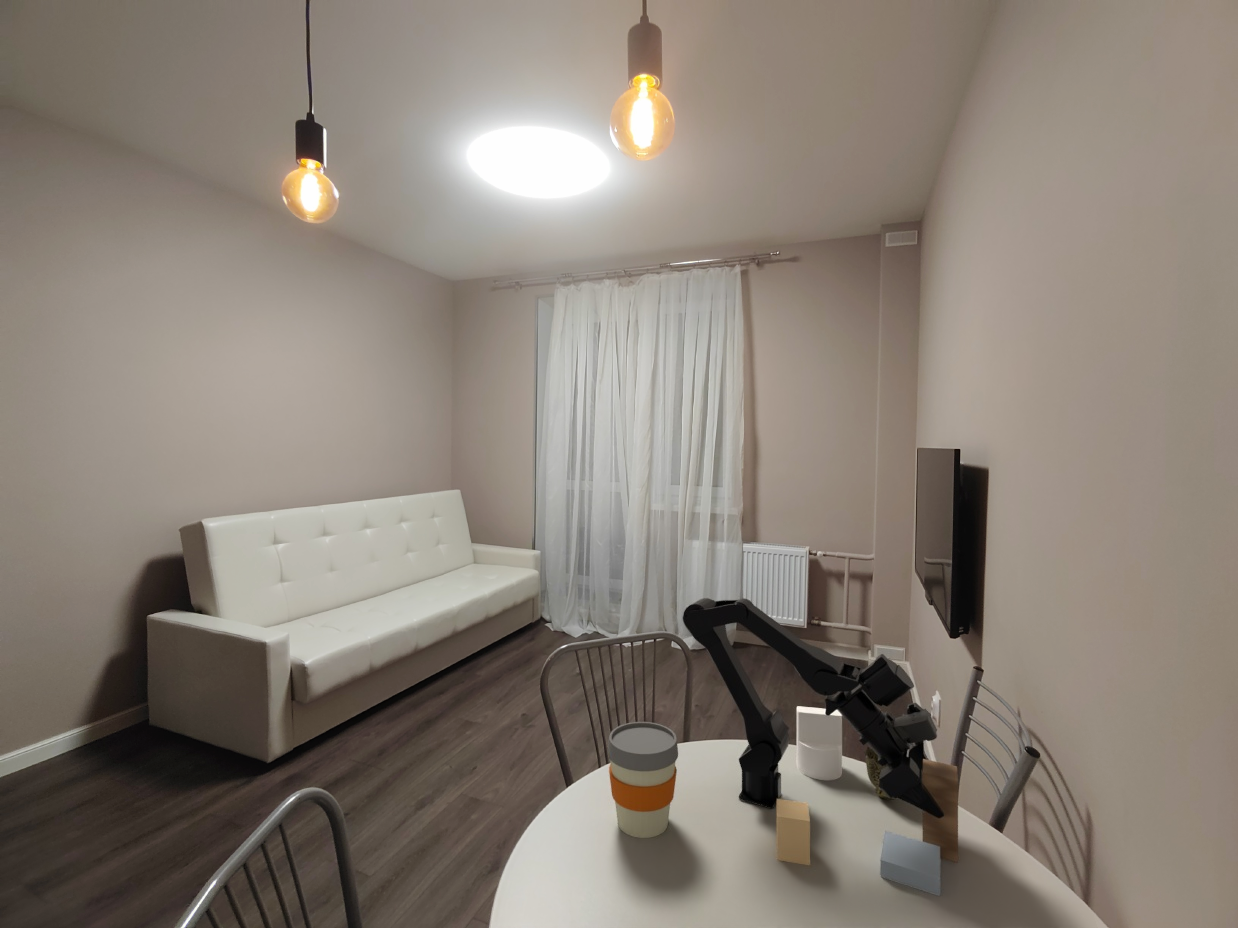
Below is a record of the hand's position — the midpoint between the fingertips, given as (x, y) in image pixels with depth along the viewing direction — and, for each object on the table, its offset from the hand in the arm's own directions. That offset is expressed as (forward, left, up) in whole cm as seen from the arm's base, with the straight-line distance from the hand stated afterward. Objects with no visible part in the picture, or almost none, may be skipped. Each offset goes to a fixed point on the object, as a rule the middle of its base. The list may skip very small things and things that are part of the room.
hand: (941, 801), depth 94 cm
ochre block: (-21, -13, -8) cm, 26 cm away
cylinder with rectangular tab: (-22, +16, -8) cm, 29 cm away
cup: (-9, +12, -8) cm, 17 cm away
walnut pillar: (0, 0, -8) cm, 8 cm away
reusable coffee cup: (-46, -18, -8) cm, 50 cm away
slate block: (-4, -8, -8) cm, 12 cm away
